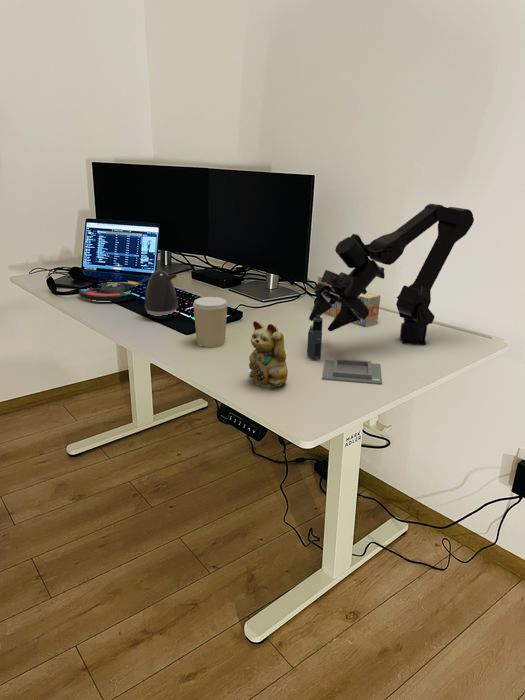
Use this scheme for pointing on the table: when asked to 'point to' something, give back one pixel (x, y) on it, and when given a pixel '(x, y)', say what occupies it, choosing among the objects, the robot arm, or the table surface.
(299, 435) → the table surface
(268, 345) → the decorative figurine
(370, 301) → the stack of blocks
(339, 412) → the table surface
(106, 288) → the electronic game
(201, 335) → the coffee cup
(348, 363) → the dock
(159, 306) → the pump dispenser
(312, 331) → the vaping device
